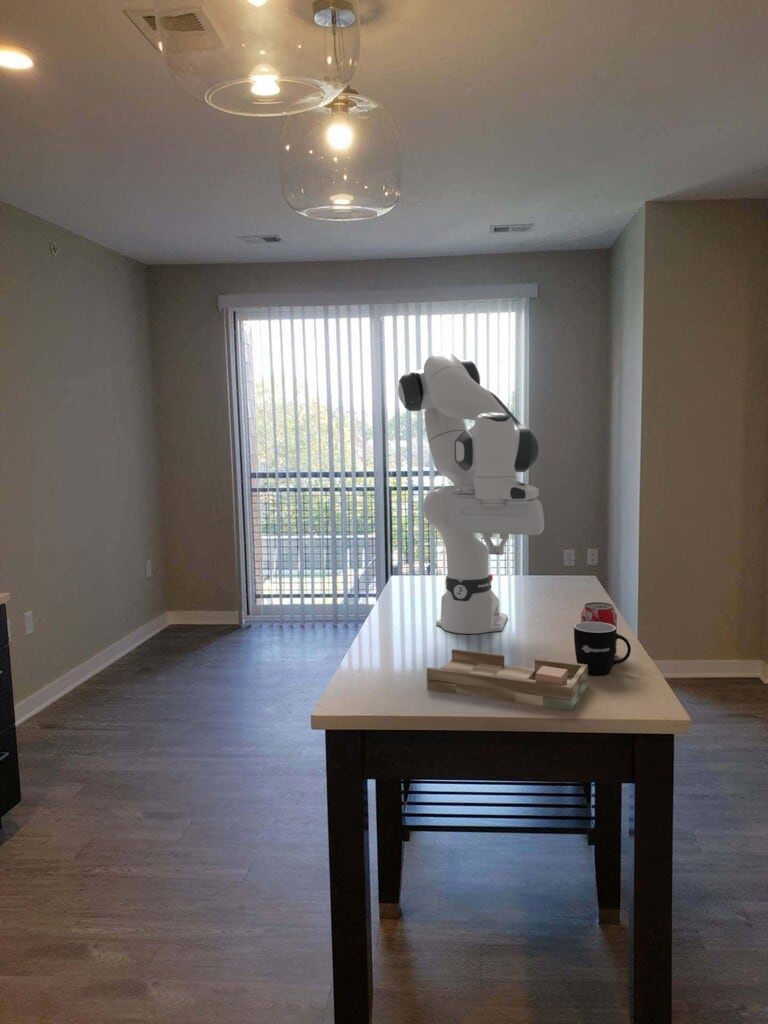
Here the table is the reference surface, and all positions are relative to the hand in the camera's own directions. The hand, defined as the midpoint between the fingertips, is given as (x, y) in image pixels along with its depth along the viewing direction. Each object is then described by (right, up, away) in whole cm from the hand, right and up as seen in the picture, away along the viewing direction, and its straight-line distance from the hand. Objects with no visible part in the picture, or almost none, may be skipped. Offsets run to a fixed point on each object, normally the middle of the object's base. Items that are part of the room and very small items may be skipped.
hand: (496, 554), depth 160 cm
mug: (+24, -26, +5) cm, 36 cm away
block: (+9, -26, -12) cm, 30 cm away
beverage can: (+27, -25, +17) cm, 40 cm away
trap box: (+2, -28, -4) cm, 28 cm away
